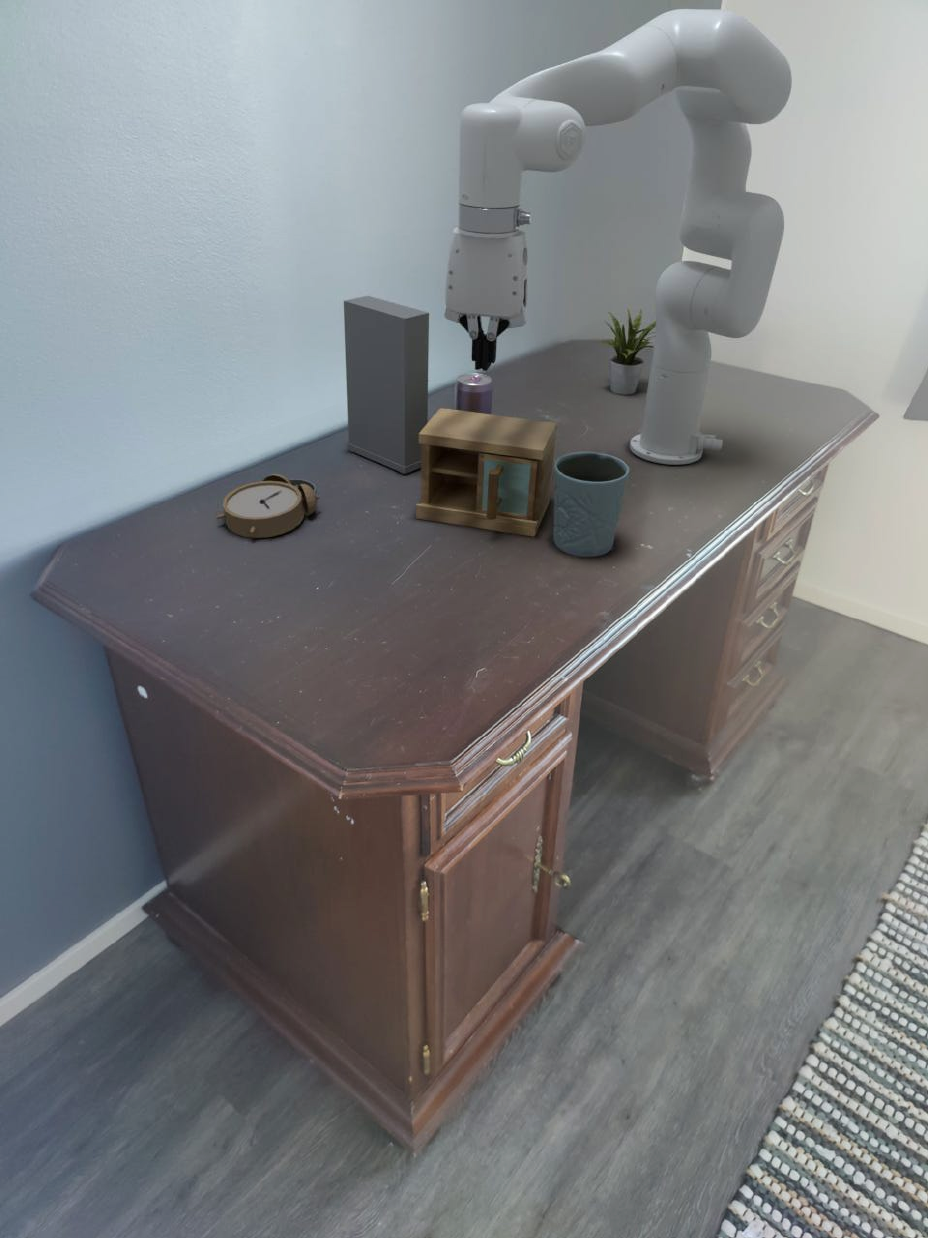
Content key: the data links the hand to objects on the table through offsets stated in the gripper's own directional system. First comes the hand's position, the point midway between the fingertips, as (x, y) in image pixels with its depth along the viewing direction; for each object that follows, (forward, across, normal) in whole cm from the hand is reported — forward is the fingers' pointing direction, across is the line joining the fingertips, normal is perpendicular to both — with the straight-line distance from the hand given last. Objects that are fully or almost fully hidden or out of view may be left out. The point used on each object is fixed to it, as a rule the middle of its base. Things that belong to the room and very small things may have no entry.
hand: (483, 366), depth 120 cm
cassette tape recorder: (+24, +20, -18) cm, 36 cm away
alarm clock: (+23, +29, +8) cm, 38 cm away
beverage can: (+24, +6, -19) cm, 31 cm away
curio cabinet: (+23, 0, -4) cm, 24 cm away
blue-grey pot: (+24, -16, +2) cm, 29 cm away
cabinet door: (+21, -4, +3) cm, 22 cm away
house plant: (+24, -15, -66) cm, 72 cm away
